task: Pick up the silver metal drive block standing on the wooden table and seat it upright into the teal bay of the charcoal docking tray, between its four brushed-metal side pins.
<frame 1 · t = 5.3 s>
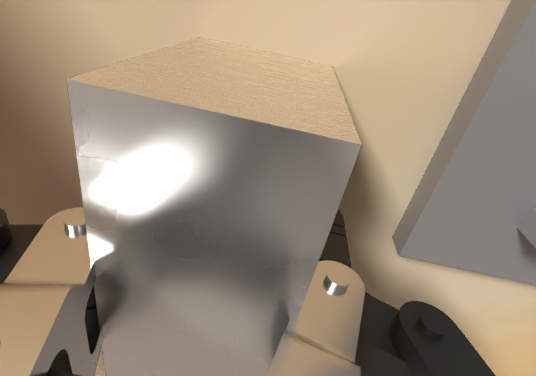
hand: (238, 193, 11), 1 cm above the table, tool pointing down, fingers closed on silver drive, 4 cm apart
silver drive: (243, 181, 12), on the table, touching gripper
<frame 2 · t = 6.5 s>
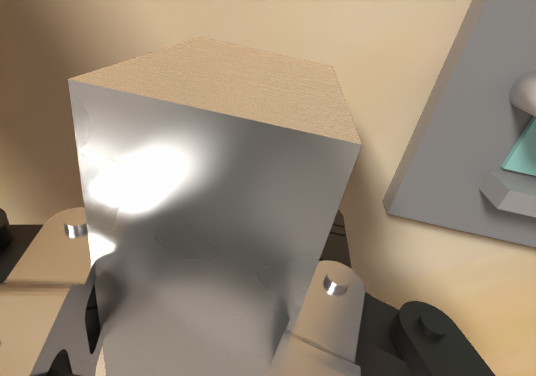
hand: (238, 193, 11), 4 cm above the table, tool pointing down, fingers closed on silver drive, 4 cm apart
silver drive: (243, 181, 12), point 3 cm above the table, touching gripper
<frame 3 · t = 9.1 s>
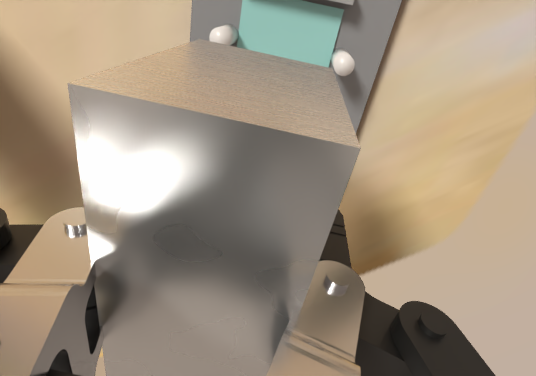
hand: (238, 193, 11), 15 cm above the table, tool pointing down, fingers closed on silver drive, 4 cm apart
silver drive: (243, 183, 12), point 14 cm above the table, touching gripper
docking tray: (277, 87, 24), on the table
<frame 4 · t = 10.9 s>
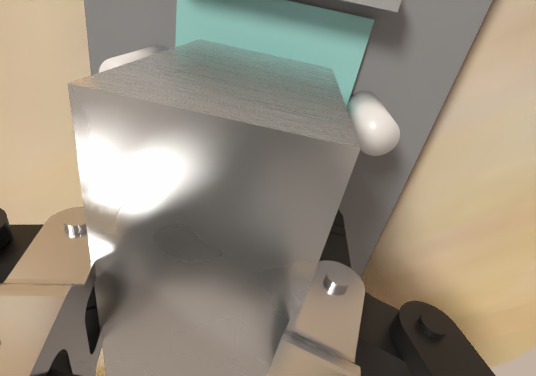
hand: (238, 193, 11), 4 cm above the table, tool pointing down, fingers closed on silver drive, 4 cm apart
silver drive: (243, 183, 12), point 3 cm above the table, touching gripper
docking tray: (252, 148, 14), on the table
when the fingers open (3 cm above the table, at t = 11.4 s): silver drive stays where it is, resting on docking tray.
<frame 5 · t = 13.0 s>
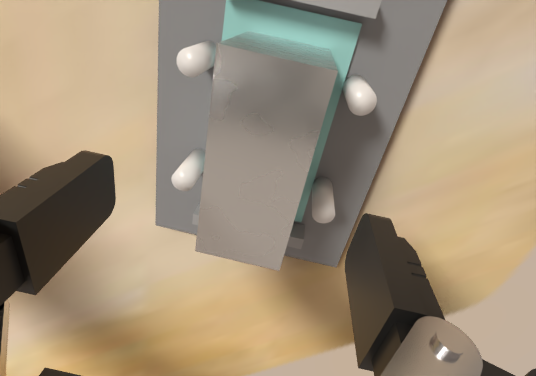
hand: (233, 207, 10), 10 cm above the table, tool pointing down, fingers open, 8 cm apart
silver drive: (271, 127, 18), point 1 cm above the table, touching docking tray
docking tray: (272, 119, 19), on the table
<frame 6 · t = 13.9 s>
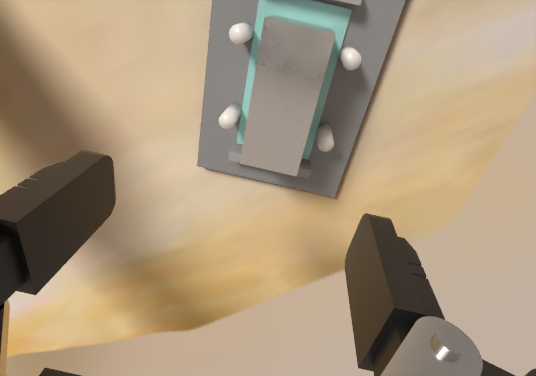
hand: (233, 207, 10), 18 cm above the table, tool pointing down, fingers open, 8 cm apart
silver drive: (288, 85, 25), point 1 cm above the table, touching docking tray
docking tray: (288, 81, 26), on the table
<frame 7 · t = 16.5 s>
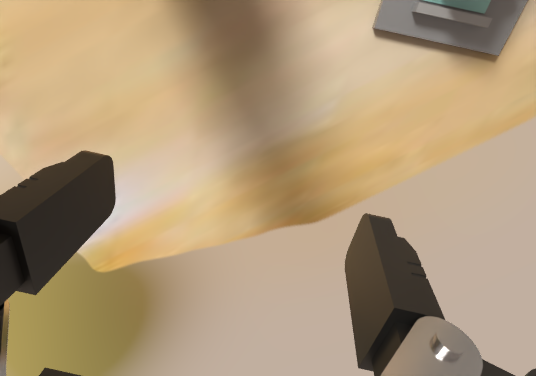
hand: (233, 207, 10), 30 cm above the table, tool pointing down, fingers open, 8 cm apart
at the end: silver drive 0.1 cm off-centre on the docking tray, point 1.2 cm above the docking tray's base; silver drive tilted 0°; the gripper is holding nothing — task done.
